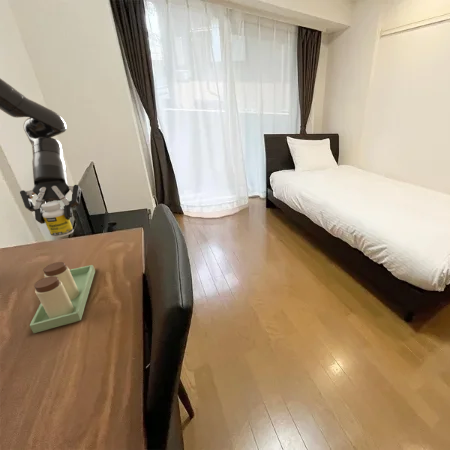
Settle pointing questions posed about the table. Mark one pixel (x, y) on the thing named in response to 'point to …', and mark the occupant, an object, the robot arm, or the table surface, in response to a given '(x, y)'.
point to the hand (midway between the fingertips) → (55, 220)
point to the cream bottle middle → (63, 277)
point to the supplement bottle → (56, 219)
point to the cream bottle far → (53, 297)
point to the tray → (83, 283)
